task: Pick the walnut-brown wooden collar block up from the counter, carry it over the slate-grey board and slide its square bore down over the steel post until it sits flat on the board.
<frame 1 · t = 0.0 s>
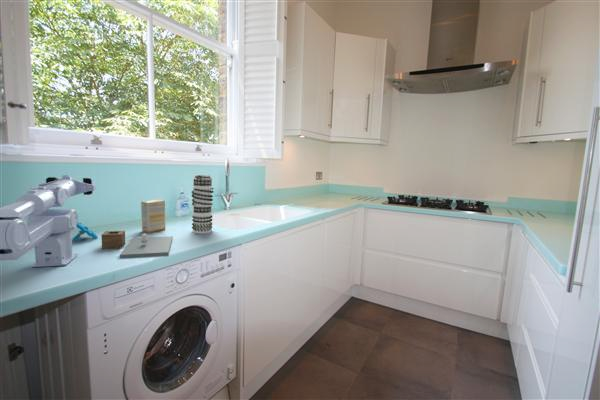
hand: (77, 182, 102), 22 cm above the worktop, tool horizontal, fingers open, 7 cm apart
hub board: (144, 247, 103), on the worktop
collar: (114, 246, 102), on the worktop
decorative candle: (202, 231, 129), on the worktop
gear: (85, 239, 109), on the worktop
supplement box: (153, 230, 126), on the worktop
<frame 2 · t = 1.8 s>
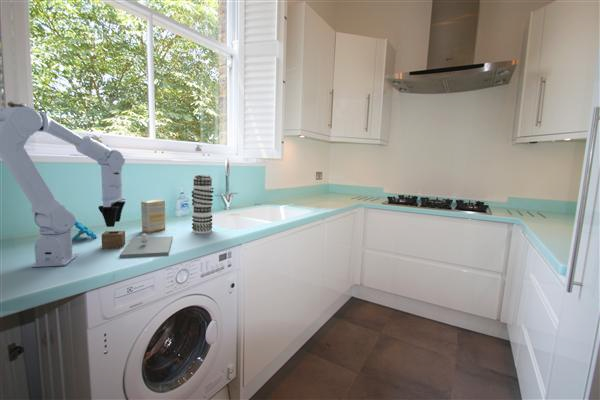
hand: (113, 224, 101), 8 cm above the worktop, tool pointing down, fingers open, 7 cm apart
nothing on the worktop moved.
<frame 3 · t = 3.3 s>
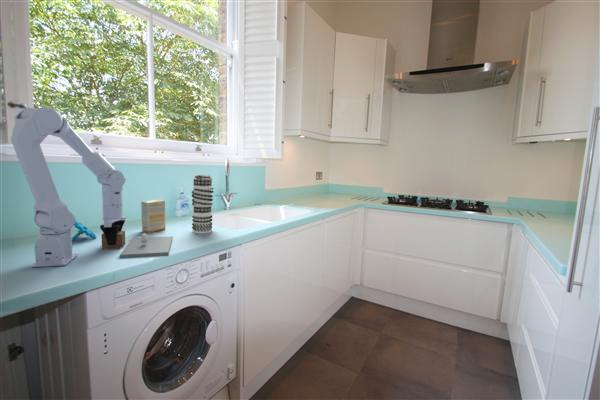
hand: (113, 242, 102), 1 cm above the worktop, tool pointing down, fingers closed on collar, 5 cm apart
collar: (114, 246, 102), on the worktop, touching gripper
everything else where it was.
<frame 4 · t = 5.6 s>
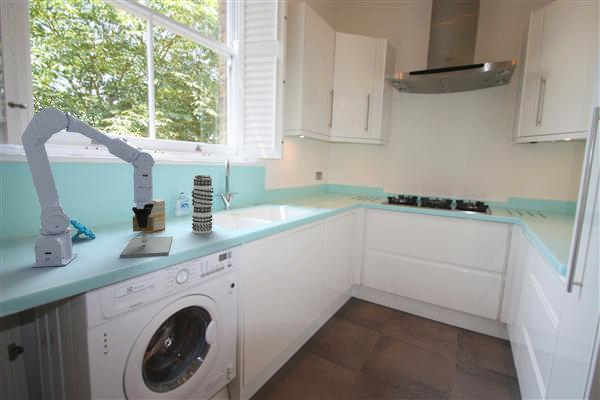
hand: (144, 225, 102), 8 cm above the worktop, tool pointing down, fingers closed on collar, 5 cm apart
collar: (144, 229, 102), point 6 cm above the worktop, touching gripper
everything else where it was.
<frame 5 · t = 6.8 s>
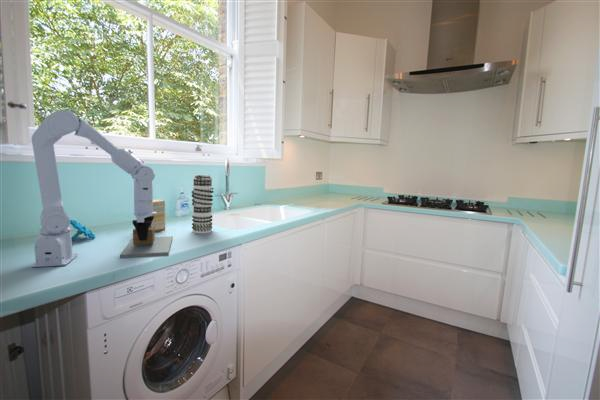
hand: (144, 238, 102), 3 cm above the worktop, tool pointing down, fingers closed on collar, 5 cm apart
collar: (144, 242, 103), point 2 cm above the worktop, touching gripper
everything else where it was.
when the fingers open (3 cm above the worktop, at t = 7.8 s): collar stays where it is, resting on hub board.
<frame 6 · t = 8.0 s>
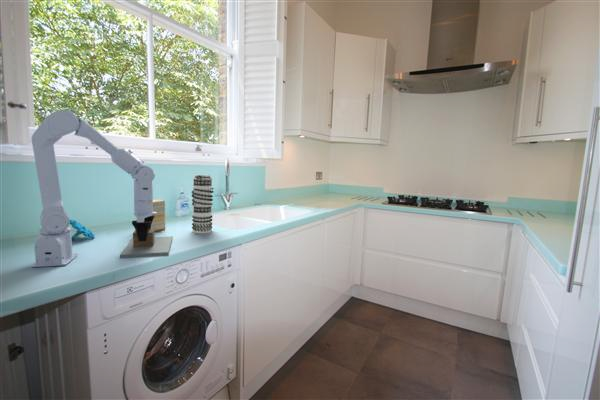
hand: (144, 238, 102), 3 cm above the worktop, tool pointing down, fingers open, 7 cm apart
collar: (144, 244, 103), point 1 cm above the worktop, touching hub board
everything else where it was.
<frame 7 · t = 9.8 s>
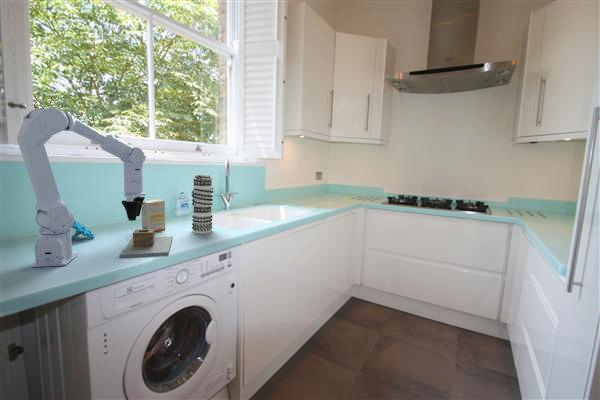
hand: (134, 218, 106), 9 cm above the worktop, tool pointing down, fingers open, 7 cm apart
nothing on the worktop moved.
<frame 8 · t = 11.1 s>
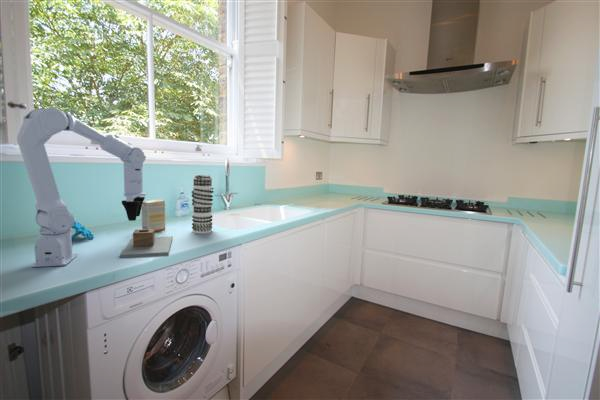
hand: (134, 218, 106), 9 cm above the worktop, tool pointing down, fingers open, 7 cm apart
at the end: collar 0.1 cm off-centre on the hub board, point 1.0 cm above the hub board's base; collar tilted 0°; the gripper is holding nothing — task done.
